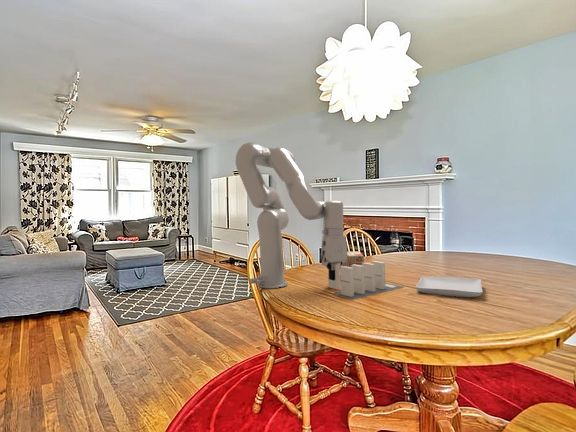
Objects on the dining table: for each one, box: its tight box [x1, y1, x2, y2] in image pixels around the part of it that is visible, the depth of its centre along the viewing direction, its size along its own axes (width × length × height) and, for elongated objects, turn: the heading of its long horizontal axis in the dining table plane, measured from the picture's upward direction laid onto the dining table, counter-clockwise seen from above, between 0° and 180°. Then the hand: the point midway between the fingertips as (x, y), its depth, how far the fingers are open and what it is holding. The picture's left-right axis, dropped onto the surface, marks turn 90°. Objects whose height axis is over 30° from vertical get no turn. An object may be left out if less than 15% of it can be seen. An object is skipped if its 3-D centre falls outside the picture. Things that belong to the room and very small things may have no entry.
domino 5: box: [371, 260, 386, 289], centre depth 133 cm, size 2×5×10 cm, turn 34°
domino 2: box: [340, 265, 354, 297], centre depth 123 cm, size 2×5×10 cm, turn 34°
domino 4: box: [362, 262, 375, 292], centre depth 130 cm, size 2×5×10 cm, turn 34°
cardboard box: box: [341, 251, 365, 267], centre depth 150 cm, size 21×6×12 cm, turn 179°
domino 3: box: [351, 264, 365, 294], centre depth 127 cm, size 2×5×10 cm, turn 34°
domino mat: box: [330, 282, 405, 301], centre depth 130 cm, size 28×11×1 cm, turn 124°
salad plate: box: [415, 275, 484, 298], centre depth 127 cm, size 21×21×3 cm
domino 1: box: [327, 262, 341, 290], centre depth 135 cm, size 2×5×10 cm, turn 33°
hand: (333, 279), depth 135 cm, fingers closed on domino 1, 1 cm apart
